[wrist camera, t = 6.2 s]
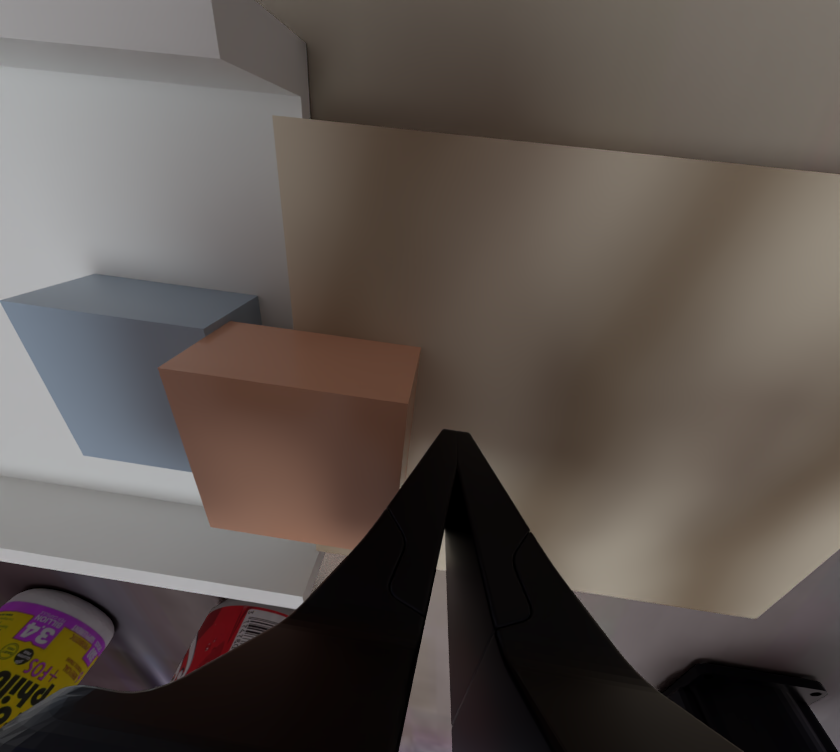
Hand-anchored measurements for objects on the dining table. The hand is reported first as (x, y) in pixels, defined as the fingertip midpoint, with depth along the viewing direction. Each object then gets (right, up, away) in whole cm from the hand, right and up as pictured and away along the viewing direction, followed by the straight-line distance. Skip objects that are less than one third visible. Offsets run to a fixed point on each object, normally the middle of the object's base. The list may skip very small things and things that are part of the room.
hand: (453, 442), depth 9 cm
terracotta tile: (-4, +1, +1) cm, 4 cm away
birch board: (+4, +1, +2) cm, 5 cm away
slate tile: (-8, +2, +2) cm, 9 cm away
